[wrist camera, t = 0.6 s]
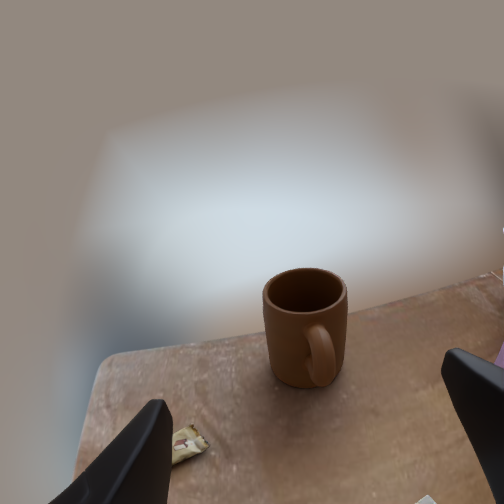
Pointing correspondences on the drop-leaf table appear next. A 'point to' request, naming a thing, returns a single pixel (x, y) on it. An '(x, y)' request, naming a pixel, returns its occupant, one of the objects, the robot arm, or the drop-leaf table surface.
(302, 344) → the mug
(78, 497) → the robot arm
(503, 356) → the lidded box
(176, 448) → the snack bar
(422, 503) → the toy vehicle
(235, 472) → the drop-leaf table surface
